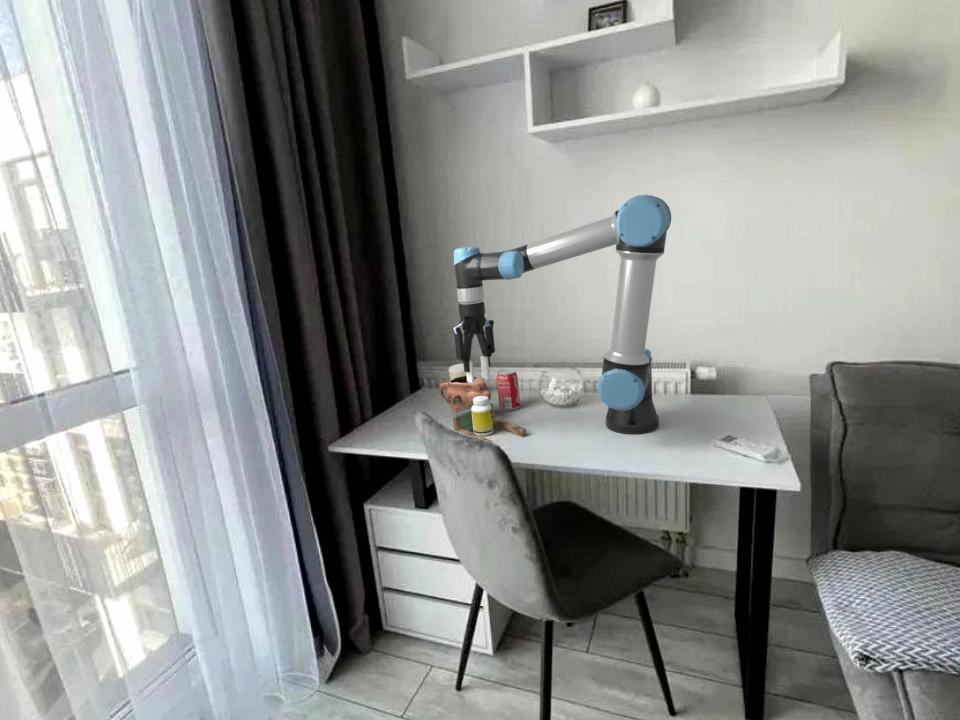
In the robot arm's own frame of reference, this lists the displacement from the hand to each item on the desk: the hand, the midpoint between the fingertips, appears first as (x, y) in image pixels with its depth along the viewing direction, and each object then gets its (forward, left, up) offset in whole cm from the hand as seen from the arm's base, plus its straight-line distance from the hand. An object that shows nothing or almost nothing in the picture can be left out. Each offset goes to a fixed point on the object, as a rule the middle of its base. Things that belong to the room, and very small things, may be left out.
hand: (478, 379), depth 164 cm
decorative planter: (+15, -4, -17) cm, 23 cm away
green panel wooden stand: (-3, 0, -17) cm, 17 cm away
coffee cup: (+35, -17, -17) cm, 42 cm away
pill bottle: (0, 0, -17) cm, 17 cm away
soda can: (+12, -20, -17) cm, 29 cm away
